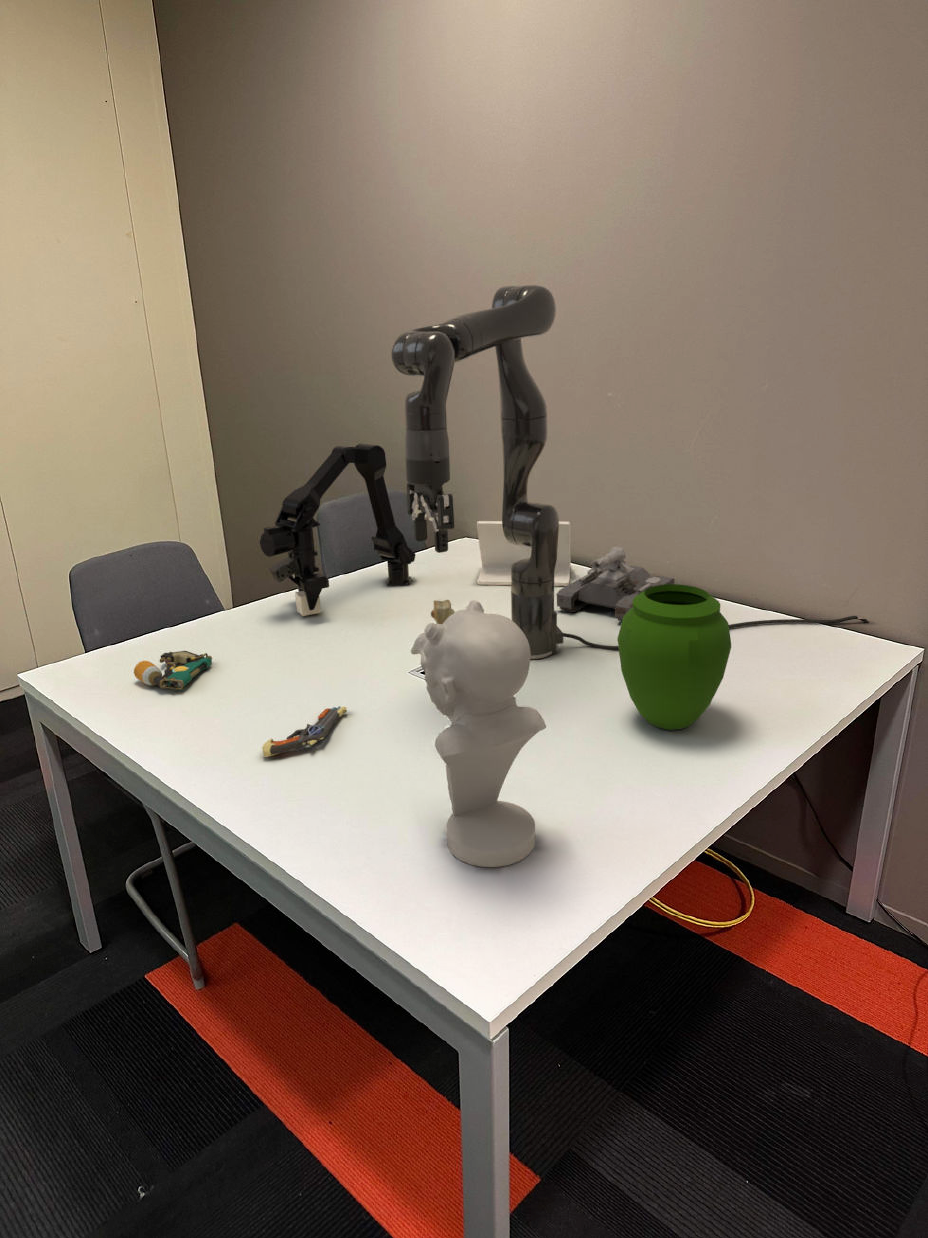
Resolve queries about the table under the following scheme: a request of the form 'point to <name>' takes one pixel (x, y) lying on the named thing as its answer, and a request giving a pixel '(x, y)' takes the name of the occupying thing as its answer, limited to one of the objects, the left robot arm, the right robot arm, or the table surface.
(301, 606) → the beige wooden cube
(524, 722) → the bust sculpture
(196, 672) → the spray gun
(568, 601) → the toy
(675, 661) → the vase
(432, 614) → the sculpture
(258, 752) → the table surface
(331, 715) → the toy gun
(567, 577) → the tablet stand
